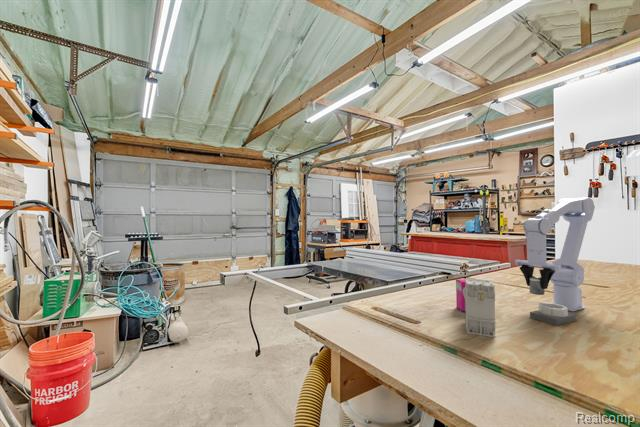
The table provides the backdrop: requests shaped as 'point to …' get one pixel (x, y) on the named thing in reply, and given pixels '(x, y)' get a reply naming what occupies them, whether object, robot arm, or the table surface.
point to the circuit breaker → (480, 307)
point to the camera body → (552, 314)
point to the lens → (536, 285)
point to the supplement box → (460, 294)
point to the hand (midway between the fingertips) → (536, 287)
